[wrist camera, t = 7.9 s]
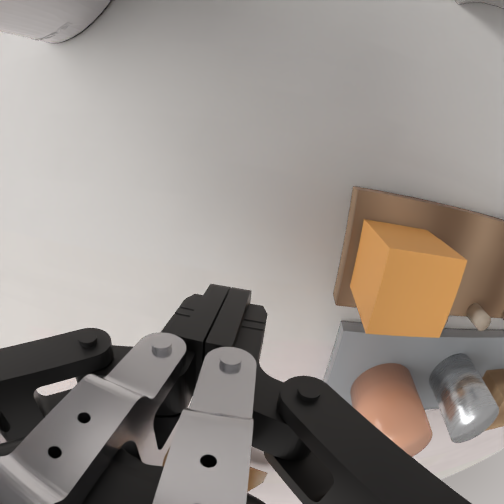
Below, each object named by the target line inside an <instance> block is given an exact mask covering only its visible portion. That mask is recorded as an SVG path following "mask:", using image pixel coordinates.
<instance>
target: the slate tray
mask: <svg viewBox="0 0 504 504" xmlns="http://www.w3.org/2000/svg"><path fill="white" fill-rule="evenodd" d="M458 353H463V354H466V355H467V356H468V357H469V358H470V360H471V361H472V363H473V364H474V366H475V368H476V369H477V371H478V372H479V374H480V376H481V377H483V376H484V374H485V372H486V370H495V369H504V330H484V331H479V330H471V329H443V330H442V333H441V335H440V337H439V338H431V337H408V336H391V335H377V334H366V333H365V330H364V327H363V324H362V323H356V322H346V321H341V324H340V327H339V331H338V334H337V338H336V341H335V345H334V348H333V351H332V355H331V358H330V361H329V364H328V368H327V371H326V374H325V377H324V380H323V381H324V382H325V383H327V384H328V385H329V386H330V387H331V388H332V389H333V390H335V391H336V392H337V393H338V394H339V395H340V396H341V397H342V398H343V399H345V400H346V401H347V402H348V403H349V404H350V405H351V406H352V402H351V395H350V390H351V387H352V384H353V383H354V381H355V380H356V379H357V377H359V376H360V375H361V374H362V373H363V372H365V371H366V370H368V369H370V368H372V367H375V366H377V365H381V364H386V363H397V364H401V365H403V366H405V367H406V368H407V369H408V370H409V371H410V373H411V376H412V378H413V381H414V383H415V386H416V388H417V391H418V394H419V396H420V399H421V402H422V405H423V407H424V410H426V409H439V406H438V403H437V401H436V399H435V396H434V394H433V391H432V389H431V387H430V384H429V378H430V375H431V373H432V371H433V370H434V368H435V367H436V366H437V365H438V364H439V363H440V362H441V361H443V360H444V359H446V358H447V357H449V356H451V355H454V354H458Z"/></svg>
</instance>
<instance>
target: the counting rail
mask: <svg viewBox="0 0 504 504" xmlns="http://www.w3.org/2000/svg"><path fill="white" fill-rule="evenodd" d="M364 219H366V220H372V221H378V222H384V223H390V224H396V225H402V226H408V227H413V228H419V229H424V230H428V231H429V232H431V233H432V234H433V235H435V236H436V237H437V238H439V239H440V240H442V241H443V242H444V243H446V244H447V245H448V246H450V247H451V248H452V249H454V250H455V251H456V252H457V253H459V254H460V255H461V256H463V257H464V258H465V259H466V260H467V264H466V267H465V270H464V273H463V277H462V280H461V283H460V286H459V289H458V291H457V294H456V297H455V300H454V303H453V305H452V308H451V310H450V313H449V315H453V316H467V317H468V318H469V319H470V320H471V322H472V323H473V324H474V325H475V327H476V328H477V329H478V330H479V331H484V330H485V329H487V328H488V326H489V325H490V322H491V318H502V319H503V320H504V220H502V219H499V218H495V217H492V216H488V215H484V214H481V213H477V212H473V211H469V210H465V209H461V208H457V207H453V206H449V205H445V204H441V203H437V202H432V201H428V200H423V199H419V198H414V197H409V196H404V195H399V194H394V193H389V192H384V191H378V190H373V189H367V188H361V187H355V186H353V191H352V197H351V204H350V210H349V216H348V222H347V228H346V233H345V239H344V244H343V249H342V255H341V260H340V265H339V270H338V274H337V279H336V284H335V288H334V293H333V295H334V299H335V304H336V305H338V306H348V307H357V306H356V303H355V300H354V297H353V294H352V291H351V288H350V283H351V279H352V275H353V270H354V266H355V261H356V257H357V252H358V247H359V242H360V237H361V232H362V227H363V221H364ZM447 321H448V318H447ZM447 321H446V323H447ZM446 323H445V325H446ZM445 325H444V326H445Z"/></svg>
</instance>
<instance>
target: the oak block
mask: <svg viewBox="0 0 504 504" xmlns="http://www.w3.org/2000/svg"><path fill="white" fill-rule="evenodd" d="M482 379H483V381H484V382H485V384H486V386H487V388H488V389H489V391H490V393H491V395H492V396H493V398H494V400H495V402H496V404H497V405H498V407H499V413H498V416H497V418H496V419H495V421H494V422H493V423H492V424H491V425H490V426H489V427H488V428H487V429H486V430H490V429H494V428H498V427H502V426H504V369H495V370H486V372H485V374H484V376H483V377H482ZM486 430H485V431H486Z"/></svg>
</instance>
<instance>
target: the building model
mask: <svg viewBox="0 0 504 504" xmlns="http://www.w3.org/2000/svg"><path fill="white" fill-rule="evenodd" d="M455 1H456V2H457V4H464V3H470V2H480V3H487V4H491V5H494V6H498V7H501V8H503V9H504V0H455Z"/></svg>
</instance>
